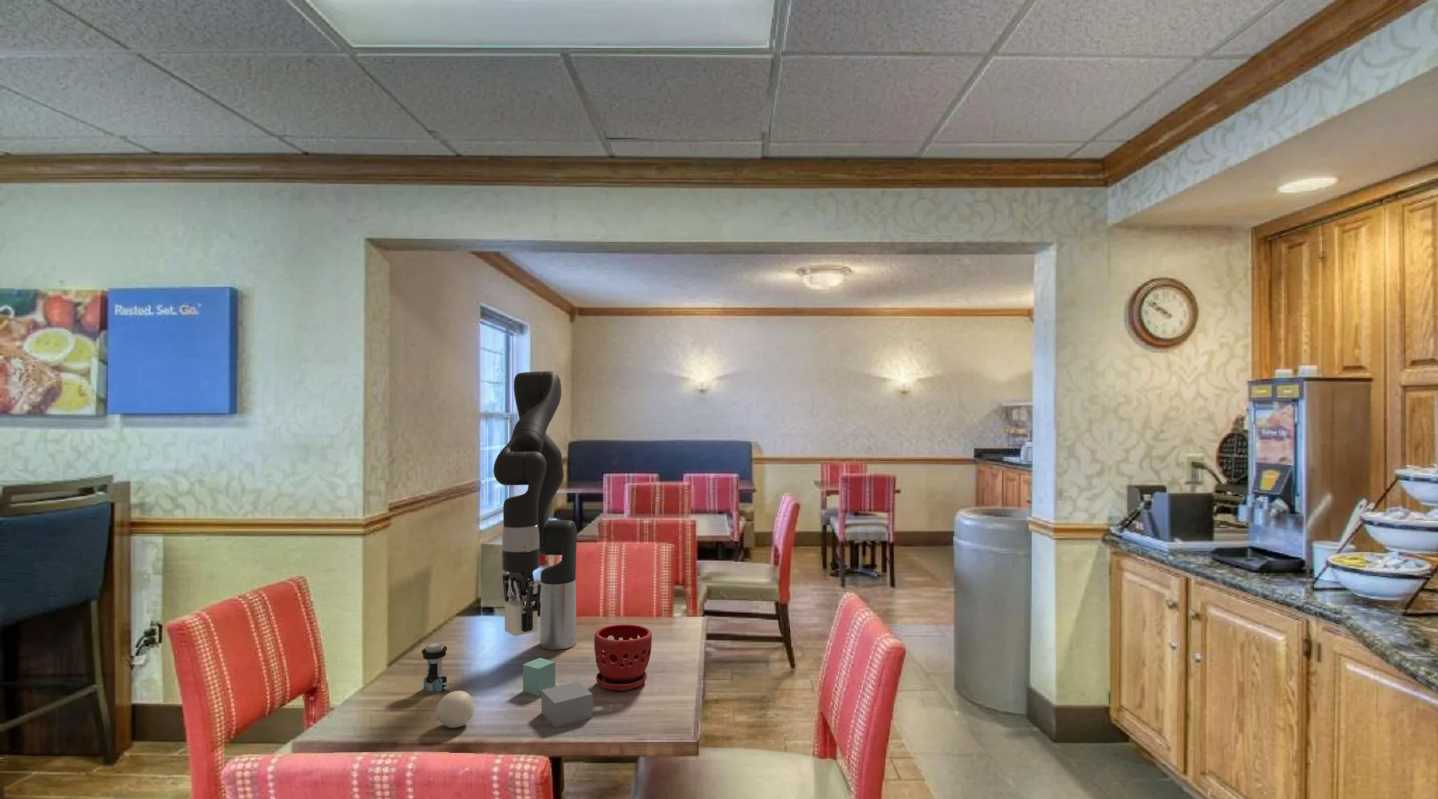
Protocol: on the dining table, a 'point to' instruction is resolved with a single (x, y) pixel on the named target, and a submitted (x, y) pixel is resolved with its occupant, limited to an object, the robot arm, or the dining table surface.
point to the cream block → (517, 618)
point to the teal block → (538, 676)
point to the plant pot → (622, 656)
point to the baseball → (455, 709)
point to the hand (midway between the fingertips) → (521, 627)
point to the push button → (435, 667)
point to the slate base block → (566, 704)
